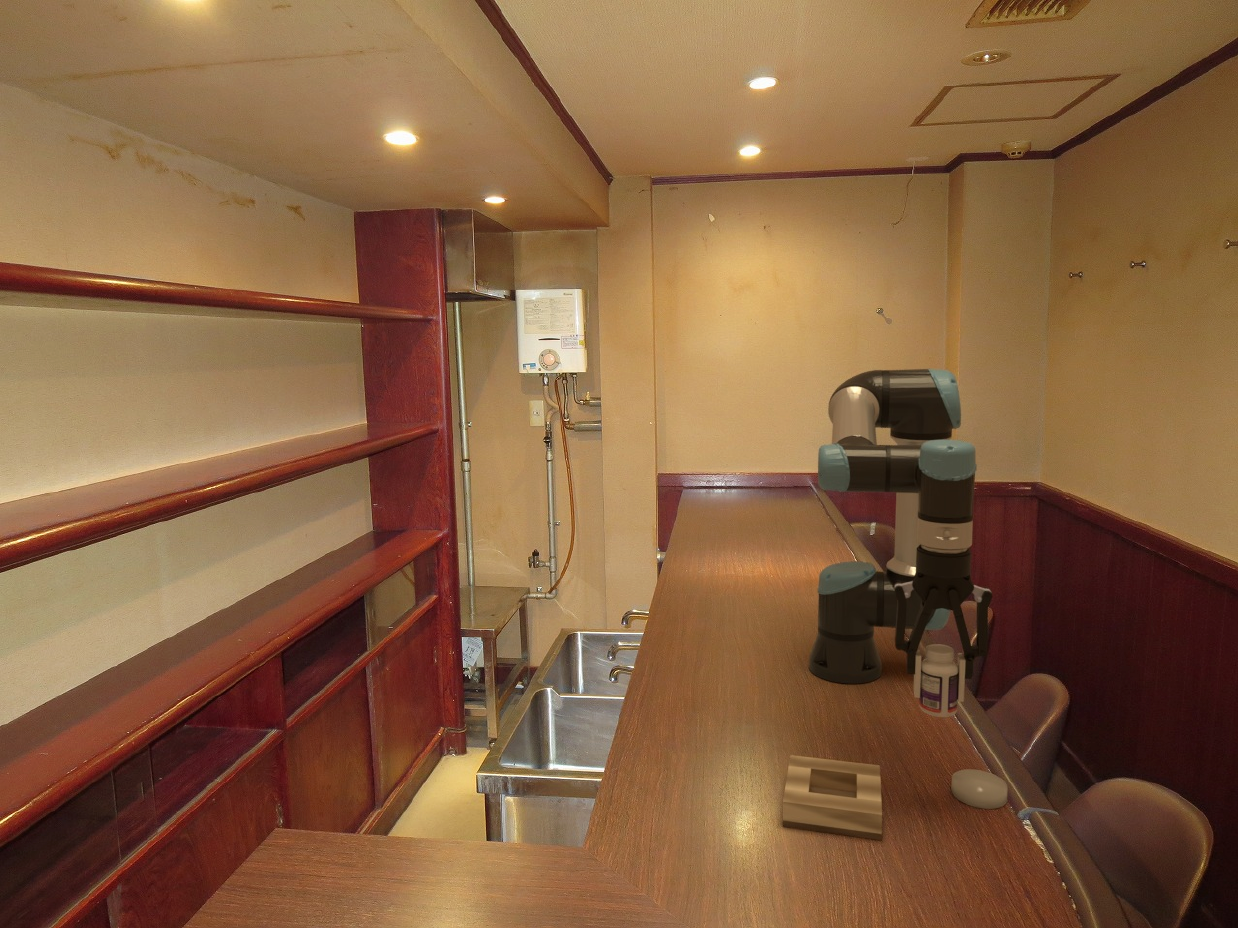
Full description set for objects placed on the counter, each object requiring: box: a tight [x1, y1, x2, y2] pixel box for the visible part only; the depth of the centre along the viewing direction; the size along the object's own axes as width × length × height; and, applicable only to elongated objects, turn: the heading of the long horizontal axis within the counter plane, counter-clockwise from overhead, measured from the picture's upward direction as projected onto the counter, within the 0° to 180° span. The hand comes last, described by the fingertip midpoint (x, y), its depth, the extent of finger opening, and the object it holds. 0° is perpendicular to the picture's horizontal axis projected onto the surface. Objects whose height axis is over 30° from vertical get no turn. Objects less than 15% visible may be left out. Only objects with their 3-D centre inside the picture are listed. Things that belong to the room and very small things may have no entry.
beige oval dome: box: [950, 768, 1008, 810], centre depth 128 cm, size 8×8×2 cm
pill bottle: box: [918, 643, 959, 718], centre depth 123 cm, size 5×5×10 cm
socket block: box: [782, 754, 883, 841], centre depth 126 cm, size 14×14×4 cm
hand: (938, 695), depth 123 cm, fingers closed on pill bottle, 5 cm apart
